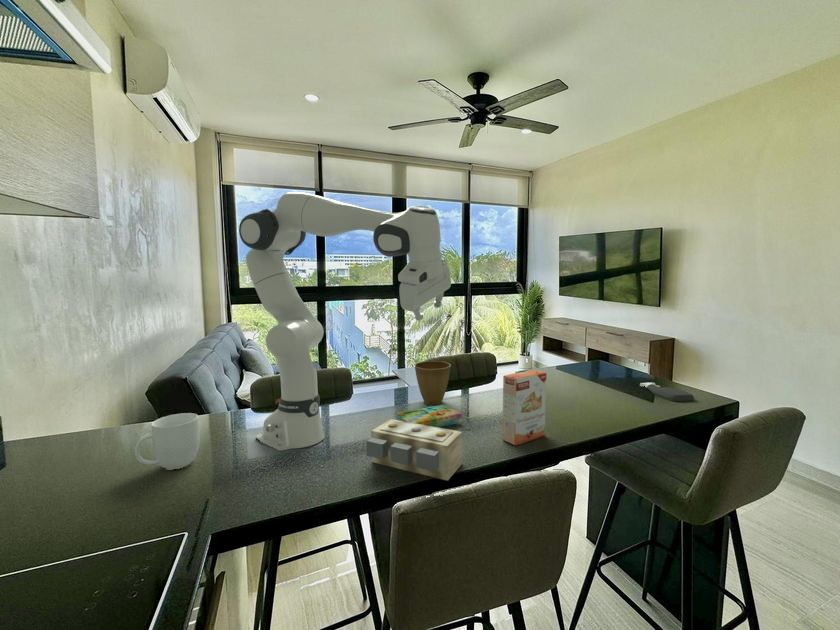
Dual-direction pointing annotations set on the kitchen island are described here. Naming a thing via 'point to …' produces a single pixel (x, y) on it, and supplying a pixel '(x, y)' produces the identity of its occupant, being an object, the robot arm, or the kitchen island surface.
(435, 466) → the button right
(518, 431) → the cracker box
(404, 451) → the button middle
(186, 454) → the mug
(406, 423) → the console
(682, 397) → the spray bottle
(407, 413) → the puzzle game
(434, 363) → the plant pot
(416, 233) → the robot arm
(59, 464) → the kitchen island surface
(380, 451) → the button left
